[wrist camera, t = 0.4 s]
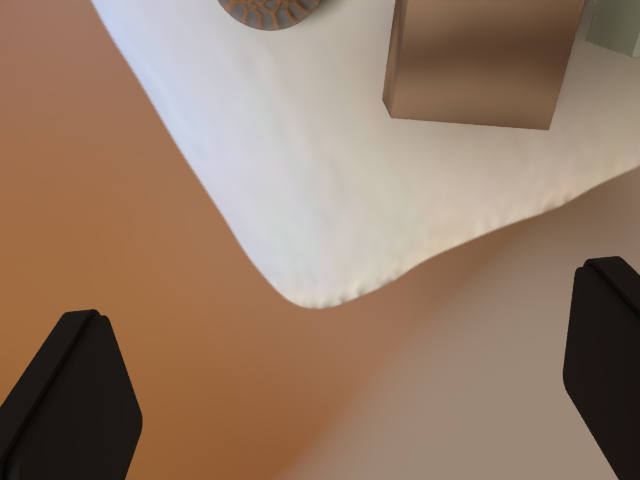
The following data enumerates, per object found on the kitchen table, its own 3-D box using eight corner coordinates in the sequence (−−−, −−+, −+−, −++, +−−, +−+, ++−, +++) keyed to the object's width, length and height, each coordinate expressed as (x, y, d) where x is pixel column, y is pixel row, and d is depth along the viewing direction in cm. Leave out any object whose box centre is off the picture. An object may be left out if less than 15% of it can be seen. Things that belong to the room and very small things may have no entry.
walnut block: (403, -65, 34) (417, -67, 30) (561, -50, 35) (599, -49, 30) (381, 98, 39) (391, 117, 34) (521, 109, 39) (548, 130, 35)
